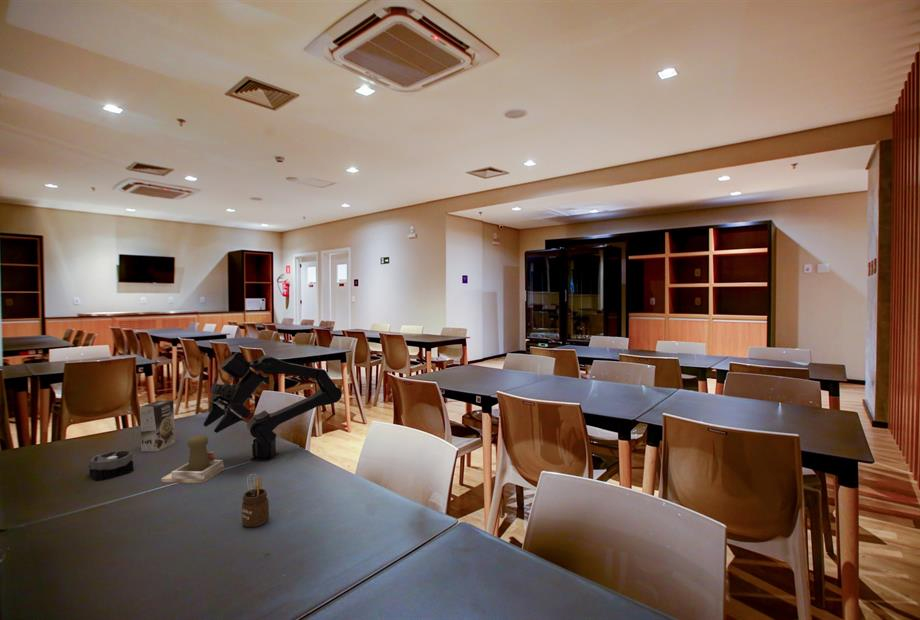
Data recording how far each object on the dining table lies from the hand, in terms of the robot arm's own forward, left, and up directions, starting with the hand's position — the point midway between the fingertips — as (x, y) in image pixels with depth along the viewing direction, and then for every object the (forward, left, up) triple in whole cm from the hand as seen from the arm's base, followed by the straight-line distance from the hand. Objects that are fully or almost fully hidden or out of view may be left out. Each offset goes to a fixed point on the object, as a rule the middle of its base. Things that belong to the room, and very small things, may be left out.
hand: (209, 428), depth 135 cm
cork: (+2, +3, -13) cm, 13 cm away
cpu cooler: (+31, +3, -14) cm, 34 cm away
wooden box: (+4, +3, -13) cm, 14 cm away
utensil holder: (-30, +27, -14) cm, 43 cm away
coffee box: (+34, -20, -14) cm, 41 cm away
